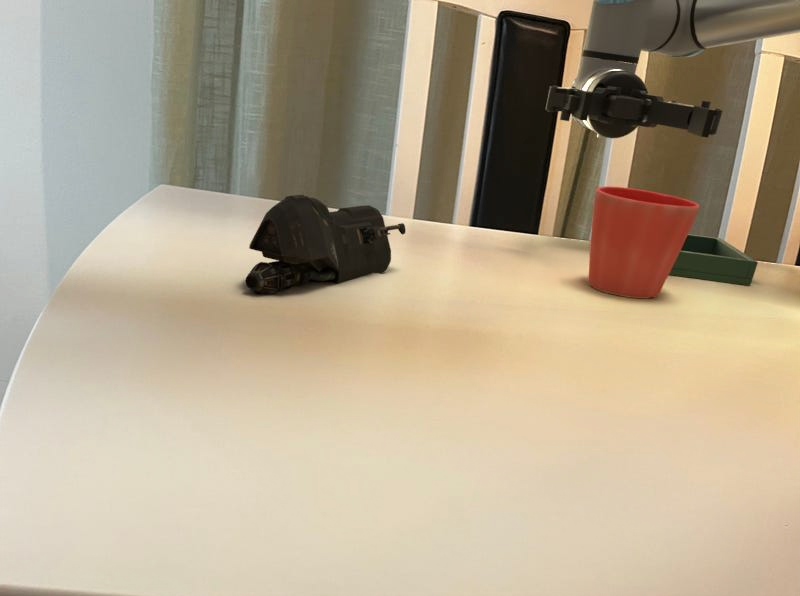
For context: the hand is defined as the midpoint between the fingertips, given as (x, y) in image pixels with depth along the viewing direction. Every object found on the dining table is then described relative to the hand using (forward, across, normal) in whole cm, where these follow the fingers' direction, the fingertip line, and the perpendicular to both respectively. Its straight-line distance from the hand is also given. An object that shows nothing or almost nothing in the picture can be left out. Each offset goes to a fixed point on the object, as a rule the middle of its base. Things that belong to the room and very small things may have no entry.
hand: (647, 115), depth 111 cm
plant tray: (-12, -10, -17) cm, 23 cm away
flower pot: (+10, 0, -17) cm, 20 cm away
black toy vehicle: (+26, +33, -17) cm, 45 cm away
